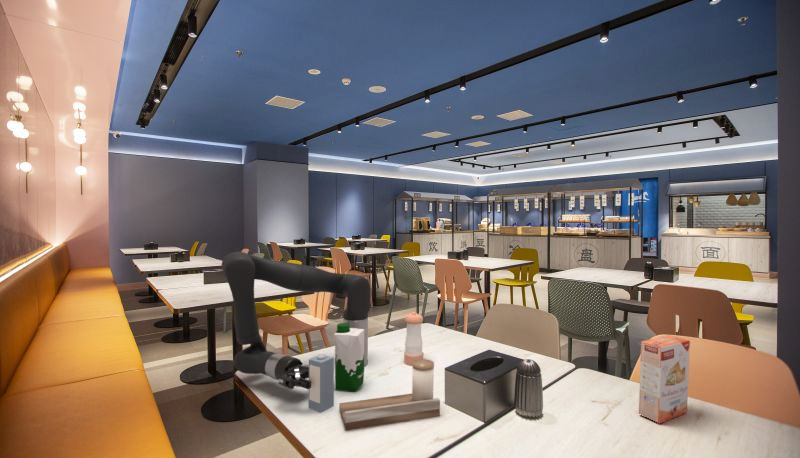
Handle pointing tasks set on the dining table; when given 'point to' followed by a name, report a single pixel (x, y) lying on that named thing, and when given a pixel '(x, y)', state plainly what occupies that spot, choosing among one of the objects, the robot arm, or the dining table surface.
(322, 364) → the tea tin
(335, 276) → the robot arm
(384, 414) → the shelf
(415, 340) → the salt shaker
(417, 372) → the jar
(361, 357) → the milk carton
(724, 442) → the dining table surface
